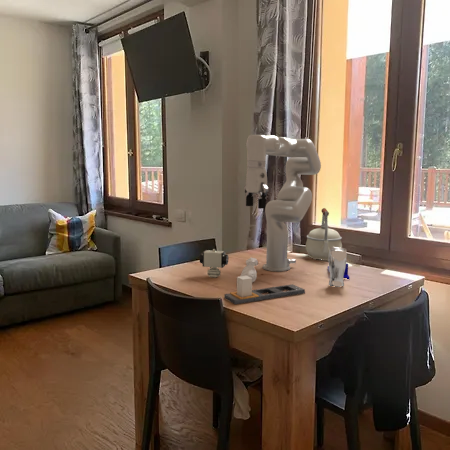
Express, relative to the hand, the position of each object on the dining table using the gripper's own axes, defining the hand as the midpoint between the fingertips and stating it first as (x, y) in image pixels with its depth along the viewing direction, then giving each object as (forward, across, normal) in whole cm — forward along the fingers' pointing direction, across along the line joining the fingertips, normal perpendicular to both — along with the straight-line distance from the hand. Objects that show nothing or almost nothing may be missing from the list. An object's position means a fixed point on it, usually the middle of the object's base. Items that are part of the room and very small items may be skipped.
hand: (255, 207), depth 187 cm
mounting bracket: (+31, -10, -37) cm, 49 cm away
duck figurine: (+31, -4, +5) cm, 31 cm away
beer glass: (+31, -24, -24) cm, 46 cm away
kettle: (+31, +18, -52) cm, 63 cm away
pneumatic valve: (+31, +10, +14) cm, 35 cm away
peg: (+30, -23, +18) cm, 42 cm away
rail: (+30, -23, +9) cm, 39 cm away
